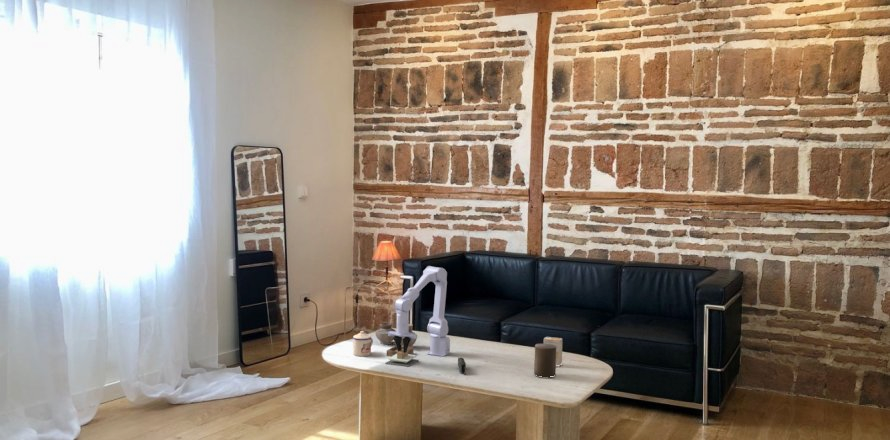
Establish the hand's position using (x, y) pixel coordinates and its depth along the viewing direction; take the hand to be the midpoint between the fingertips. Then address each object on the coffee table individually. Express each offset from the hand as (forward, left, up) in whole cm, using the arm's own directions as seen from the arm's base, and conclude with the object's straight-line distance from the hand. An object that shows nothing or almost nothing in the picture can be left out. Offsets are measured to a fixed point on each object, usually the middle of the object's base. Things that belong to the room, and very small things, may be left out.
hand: (402, 351), depth 357 cm
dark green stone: (-31, +1, -6) cm, 32 cm away
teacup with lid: (+24, -6, -5) cm, 25 cm away
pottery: (+17, -28, -5) cm, 33 cm away
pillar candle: (-68, -8, -5) cm, 69 cm away
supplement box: (-67, -26, -5) cm, 72 cm away
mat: (0, 0, -5) cm, 5 cm away
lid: (0, 0, -3) cm, 3 cm away
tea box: (+7, -12, -6) cm, 15 cm away
